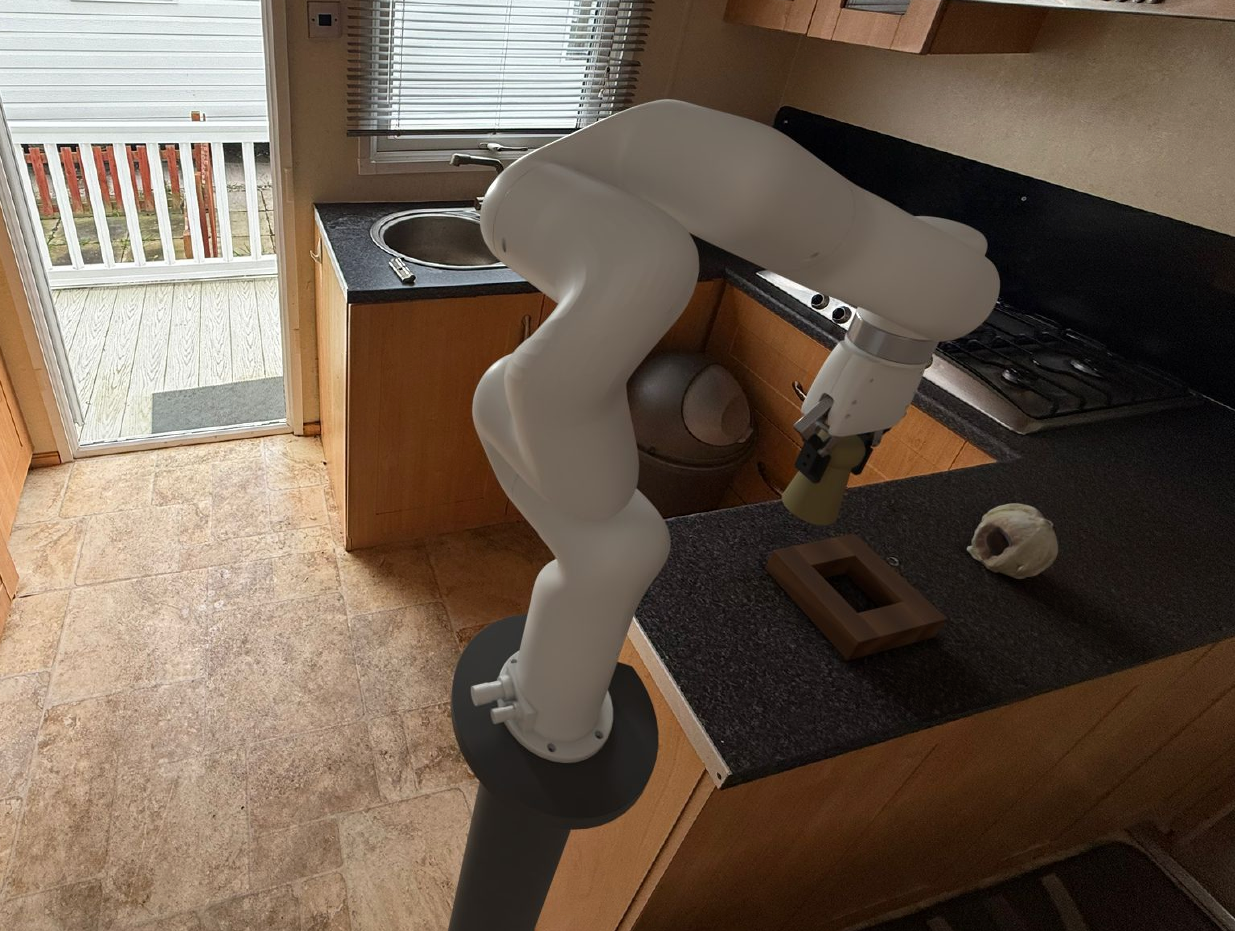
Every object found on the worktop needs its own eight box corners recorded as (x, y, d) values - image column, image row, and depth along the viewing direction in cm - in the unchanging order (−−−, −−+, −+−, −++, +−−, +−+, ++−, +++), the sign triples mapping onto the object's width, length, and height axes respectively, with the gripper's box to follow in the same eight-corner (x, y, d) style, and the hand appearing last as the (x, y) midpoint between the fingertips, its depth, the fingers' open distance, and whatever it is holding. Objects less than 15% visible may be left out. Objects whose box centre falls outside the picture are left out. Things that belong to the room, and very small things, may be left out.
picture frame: (847, 661, 77) (859, 642, 76) (764, 568, 89) (773, 550, 87) (934, 637, 81) (948, 618, 79) (844, 551, 92) (854, 533, 90)
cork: (786, 517, 78) (820, 445, 72) (777, 483, 83) (808, 413, 78) (843, 531, 77) (882, 458, 71) (830, 495, 82) (865, 425, 76)
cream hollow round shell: (968, 549, 97) (990, 486, 95) (1045, 579, 91) (1070, 513, 89) (959, 565, 91) (983, 498, 89) (1042, 598, 85) (1069, 527, 83)
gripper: (919, 312, 74) (856, 440, 82) (796, 327, 69) (743, 460, 78) (987, 347, 67) (910, 481, 76) (857, 366, 63) (792, 506, 72)
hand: (827, 469), depth 77 cm, fingers closed on cork, 5 cm apart
